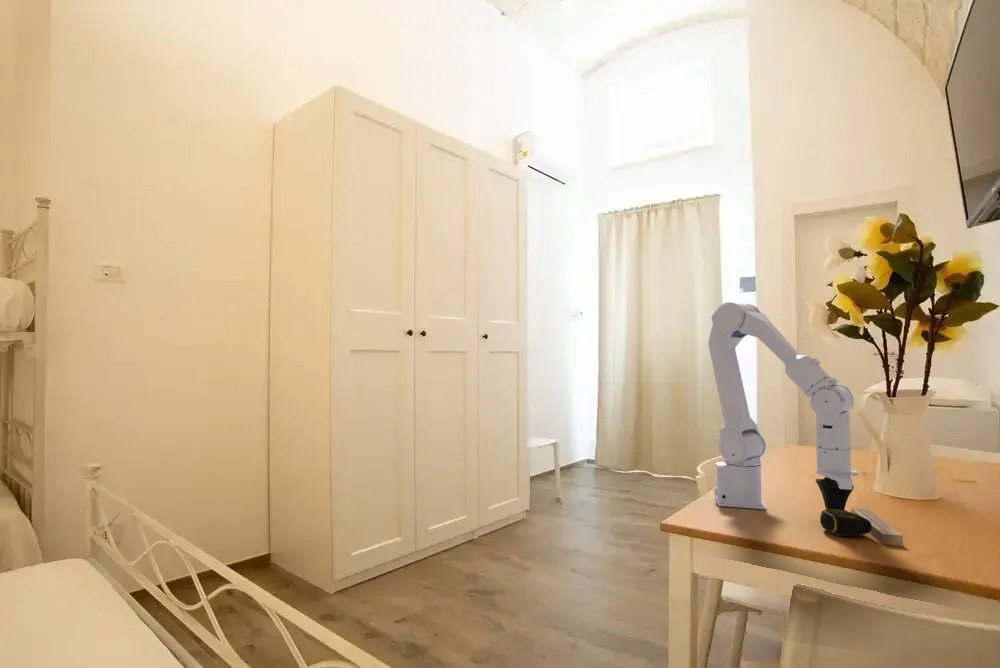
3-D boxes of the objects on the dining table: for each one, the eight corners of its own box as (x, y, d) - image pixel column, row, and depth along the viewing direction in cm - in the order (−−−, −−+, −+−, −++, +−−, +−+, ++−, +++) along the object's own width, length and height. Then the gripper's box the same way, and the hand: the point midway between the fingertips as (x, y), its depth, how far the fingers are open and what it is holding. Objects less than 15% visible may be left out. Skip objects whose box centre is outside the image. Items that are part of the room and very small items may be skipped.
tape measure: (874, 539, 95) (873, 518, 96) (839, 541, 94) (839, 519, 95) (844, 526, 102) (844, 506, 102) (812, 528, 101) (811, 508, 101)
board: (882, 544, 93) (882, 533, 93) (851, 516, 108) (851, 507, 108) (903, 546, 92) (902, 535, 92) (868, 518, 107) (868, 508, 107)
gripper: (871, 455, 96) (872, 532, 96) (844, 442, 110) (846, 509, 109) (826, 453, 98) (828, 528, 98) (806, 440, 112) (807, 506, 111)
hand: (834, 518), depth 104 cm, fingers closed
